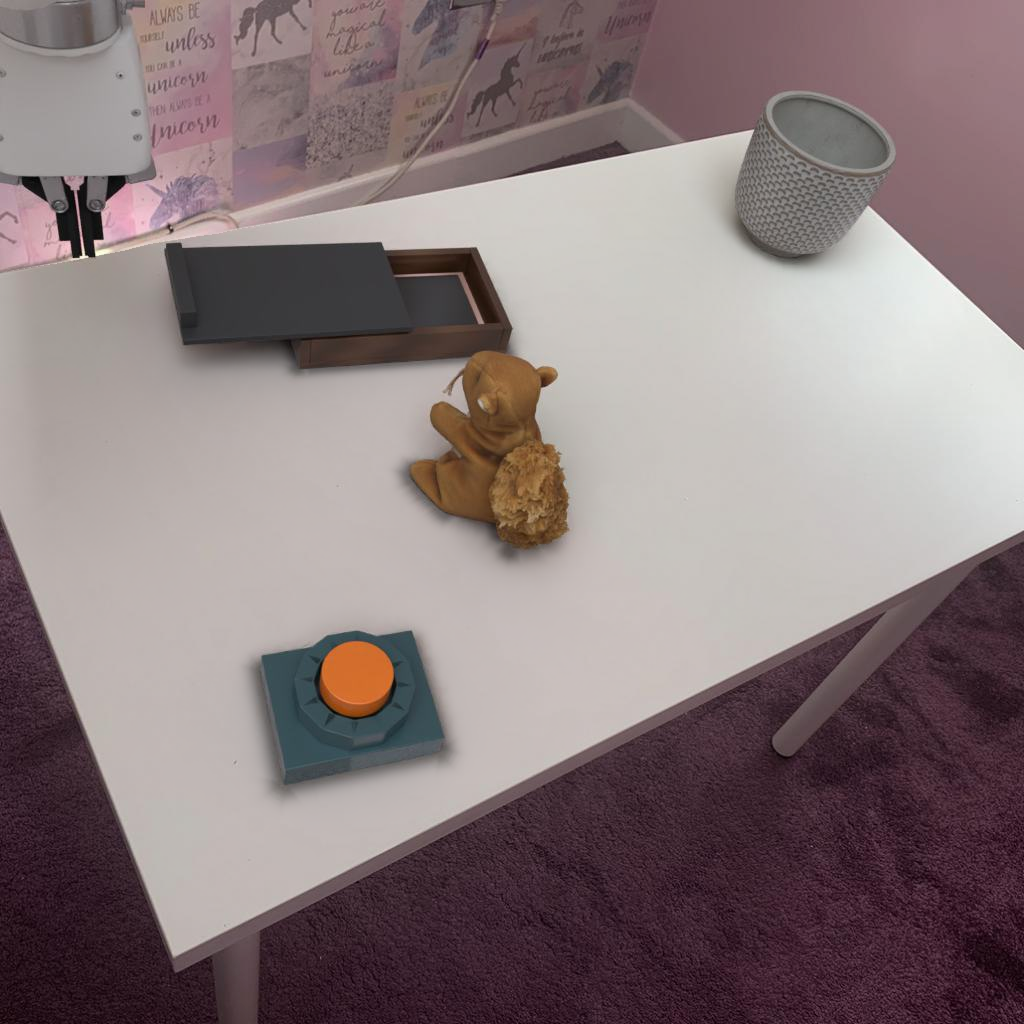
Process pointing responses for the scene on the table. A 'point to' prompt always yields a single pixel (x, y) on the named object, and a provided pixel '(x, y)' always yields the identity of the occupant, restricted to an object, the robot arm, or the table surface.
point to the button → (356, 679)
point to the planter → (810, 172)
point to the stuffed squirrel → (498, 453)
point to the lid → (284, 292)
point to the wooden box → (425, 314)
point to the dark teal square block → (342, 739)
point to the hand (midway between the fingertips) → (82, 245)
